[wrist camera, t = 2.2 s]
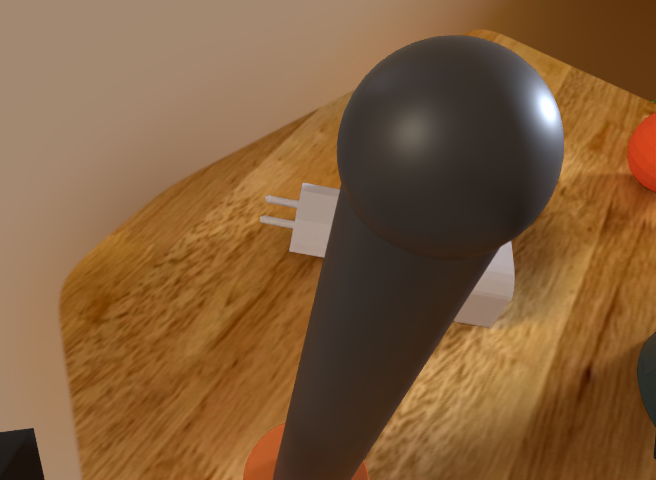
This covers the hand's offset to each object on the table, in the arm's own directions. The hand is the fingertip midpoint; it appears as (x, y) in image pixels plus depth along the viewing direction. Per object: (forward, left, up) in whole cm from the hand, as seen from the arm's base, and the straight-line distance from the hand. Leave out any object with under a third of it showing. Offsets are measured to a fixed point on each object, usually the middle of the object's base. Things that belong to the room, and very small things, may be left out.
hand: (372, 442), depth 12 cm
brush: (-1, +2, -18) cm, 18 cm away
